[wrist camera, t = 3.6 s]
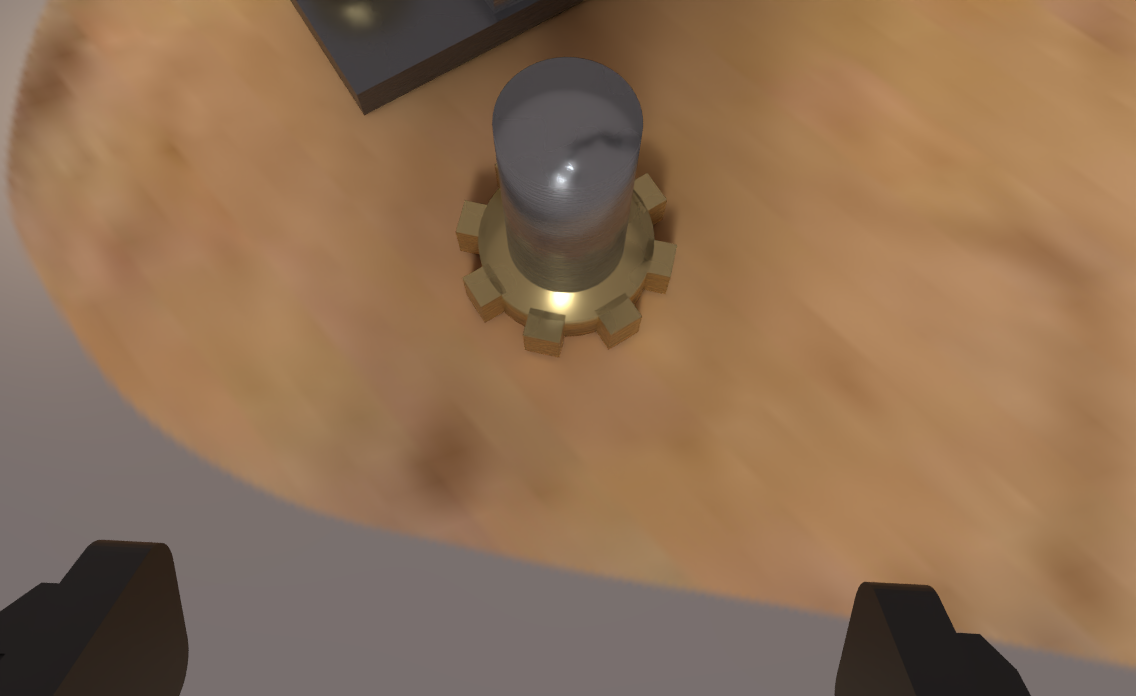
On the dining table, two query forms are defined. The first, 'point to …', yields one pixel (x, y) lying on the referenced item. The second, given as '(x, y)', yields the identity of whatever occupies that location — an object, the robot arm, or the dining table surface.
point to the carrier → (413, 38)
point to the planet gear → (567, 209)
